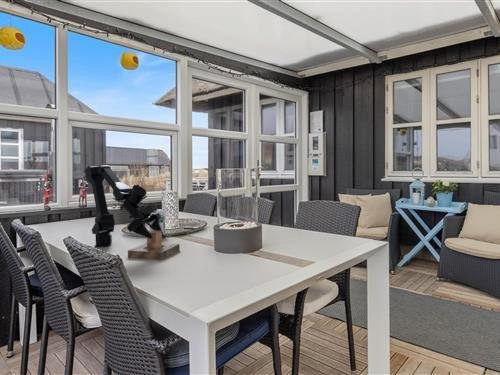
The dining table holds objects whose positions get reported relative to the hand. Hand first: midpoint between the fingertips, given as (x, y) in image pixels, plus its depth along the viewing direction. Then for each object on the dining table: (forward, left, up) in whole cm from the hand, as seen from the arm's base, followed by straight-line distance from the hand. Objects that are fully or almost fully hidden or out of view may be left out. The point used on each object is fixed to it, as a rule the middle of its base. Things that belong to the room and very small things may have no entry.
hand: (157, 235), depth 150 cm
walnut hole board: (-1, +1, -8) cm, 8 cm away
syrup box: (-4, +39, -8) cm, 41 cm away
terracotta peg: (-1, 0, -8) cm, 8 cm away
